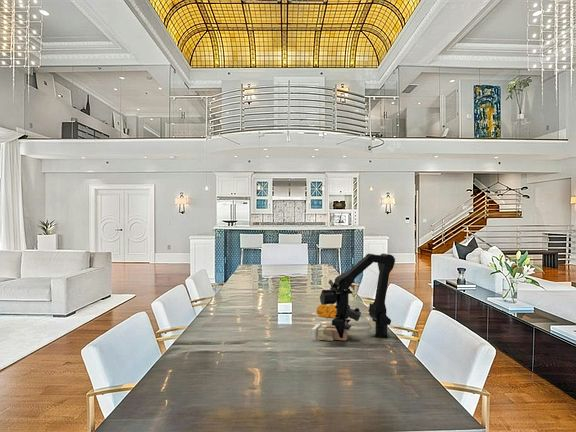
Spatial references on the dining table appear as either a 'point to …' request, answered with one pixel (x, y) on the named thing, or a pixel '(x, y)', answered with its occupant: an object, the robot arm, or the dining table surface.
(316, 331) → the backstop
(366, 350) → the dining table surface
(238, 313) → the dining table surface
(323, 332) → the block
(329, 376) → the dining table surface
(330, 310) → the decorative ornament
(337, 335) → the peg
